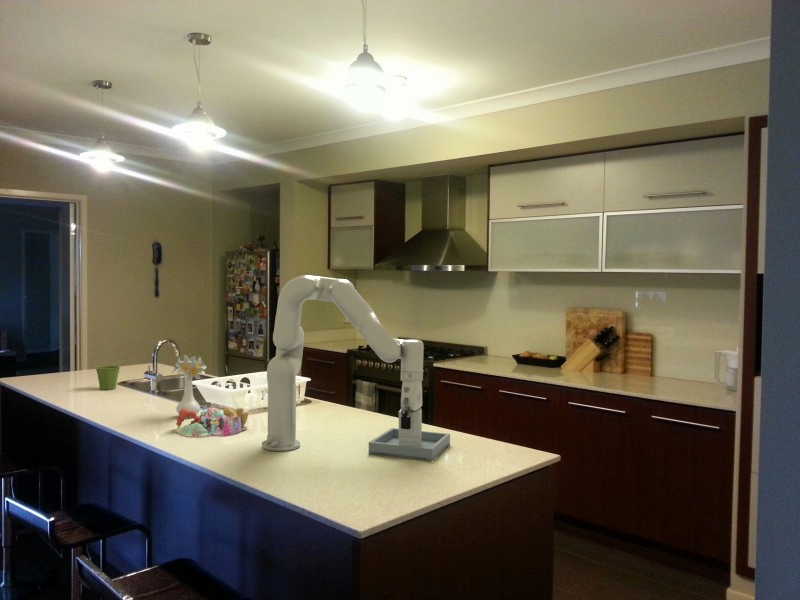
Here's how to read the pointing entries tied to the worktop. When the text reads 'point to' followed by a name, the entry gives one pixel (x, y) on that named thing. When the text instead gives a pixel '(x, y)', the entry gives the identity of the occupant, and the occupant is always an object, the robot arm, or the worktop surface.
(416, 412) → the supplement box
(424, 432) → the tray
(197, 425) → the candy landscape model
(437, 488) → the worktop surface
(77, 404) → the worktop surface
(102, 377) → the plant pot
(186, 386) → the flower vase
